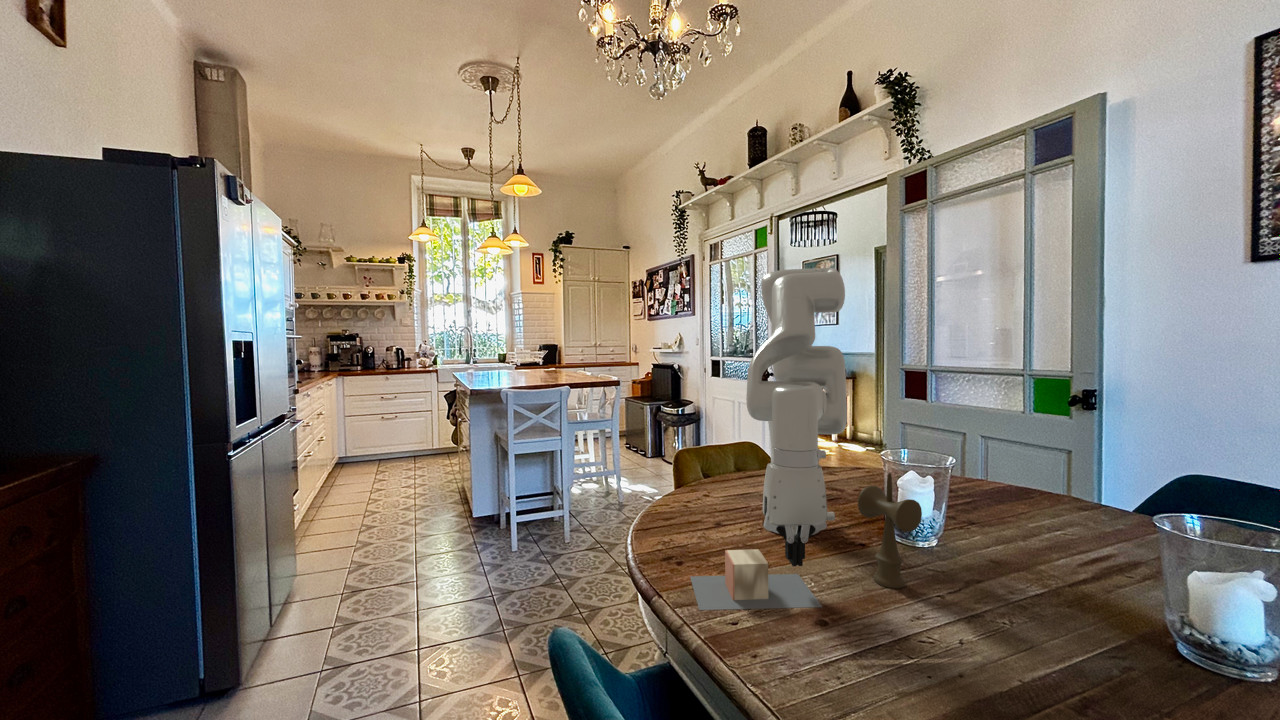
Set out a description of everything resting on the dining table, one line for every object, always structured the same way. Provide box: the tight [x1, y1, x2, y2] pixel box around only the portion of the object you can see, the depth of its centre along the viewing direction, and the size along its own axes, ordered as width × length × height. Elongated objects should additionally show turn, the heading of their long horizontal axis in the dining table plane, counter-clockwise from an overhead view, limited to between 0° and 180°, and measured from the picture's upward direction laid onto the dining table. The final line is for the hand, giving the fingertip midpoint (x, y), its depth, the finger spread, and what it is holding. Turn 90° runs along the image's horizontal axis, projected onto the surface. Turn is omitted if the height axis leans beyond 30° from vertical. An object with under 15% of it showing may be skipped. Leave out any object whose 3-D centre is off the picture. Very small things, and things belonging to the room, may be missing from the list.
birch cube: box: [724, 548, 769, 600], centre depth 89 cm, size 6×6×6 cm
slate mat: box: [689, 573, 823, 611], centre depth 89 cm, size 20×12×1 cm, turn 92°
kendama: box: [857, 472, 923, 589], centre depth 92 cm, size 6×10×20 cm, turn 20°
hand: (795, 562), depth 89 cm, fingers closed
